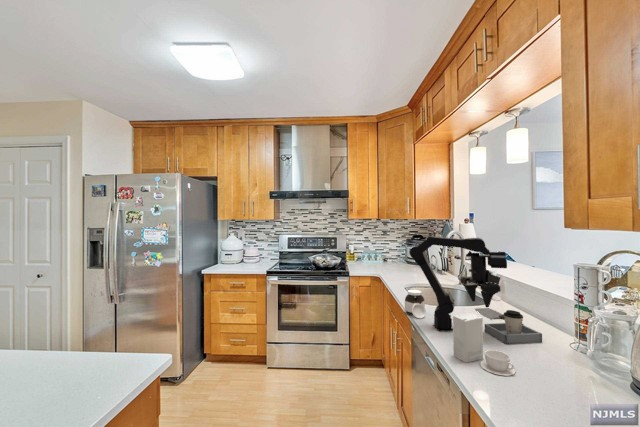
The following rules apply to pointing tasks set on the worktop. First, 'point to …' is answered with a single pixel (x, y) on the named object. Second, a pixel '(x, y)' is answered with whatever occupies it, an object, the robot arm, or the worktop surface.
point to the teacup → (497, 363)
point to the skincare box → (468, 337)
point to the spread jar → (415, 304)
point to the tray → (525, 337)
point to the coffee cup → (513, 322)
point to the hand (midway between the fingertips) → (480, 304)
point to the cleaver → (490, 313)
